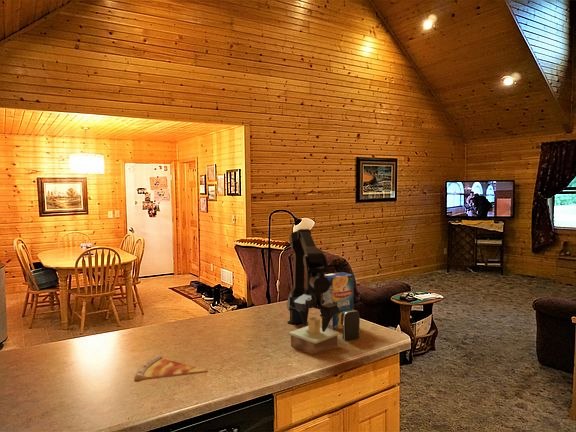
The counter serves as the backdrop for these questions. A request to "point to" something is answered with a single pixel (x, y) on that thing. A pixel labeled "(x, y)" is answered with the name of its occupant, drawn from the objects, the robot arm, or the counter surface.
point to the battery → (350, 324)
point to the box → (313, 345)
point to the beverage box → (339, 295)
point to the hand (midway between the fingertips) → (314, 328)
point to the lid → (313, 332)
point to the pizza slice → (164, 368)
